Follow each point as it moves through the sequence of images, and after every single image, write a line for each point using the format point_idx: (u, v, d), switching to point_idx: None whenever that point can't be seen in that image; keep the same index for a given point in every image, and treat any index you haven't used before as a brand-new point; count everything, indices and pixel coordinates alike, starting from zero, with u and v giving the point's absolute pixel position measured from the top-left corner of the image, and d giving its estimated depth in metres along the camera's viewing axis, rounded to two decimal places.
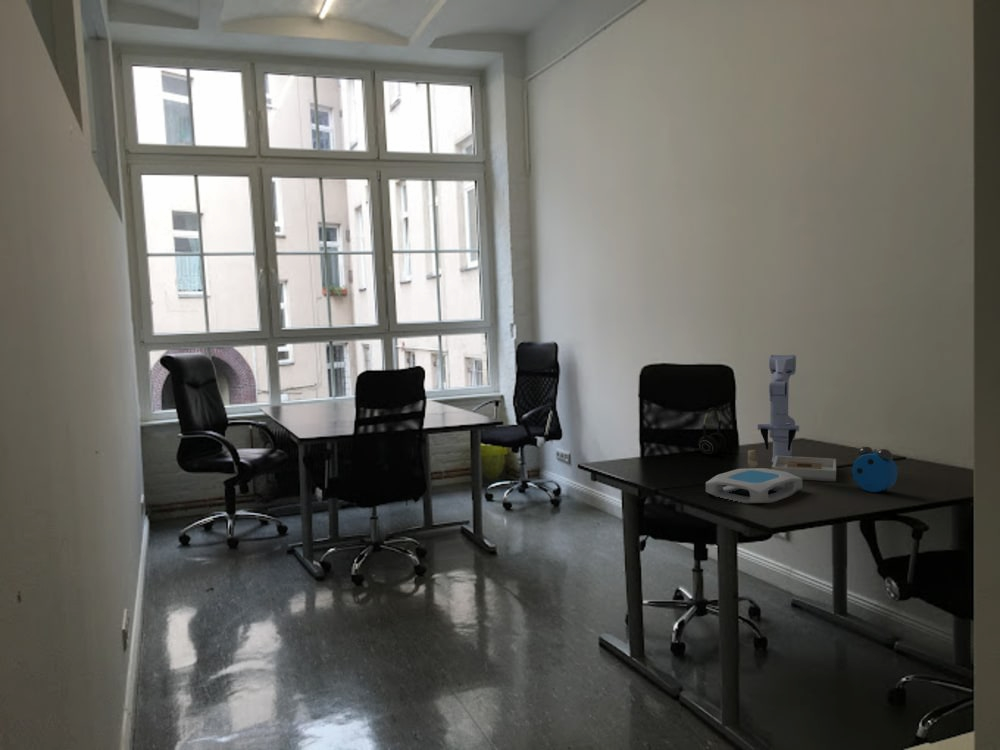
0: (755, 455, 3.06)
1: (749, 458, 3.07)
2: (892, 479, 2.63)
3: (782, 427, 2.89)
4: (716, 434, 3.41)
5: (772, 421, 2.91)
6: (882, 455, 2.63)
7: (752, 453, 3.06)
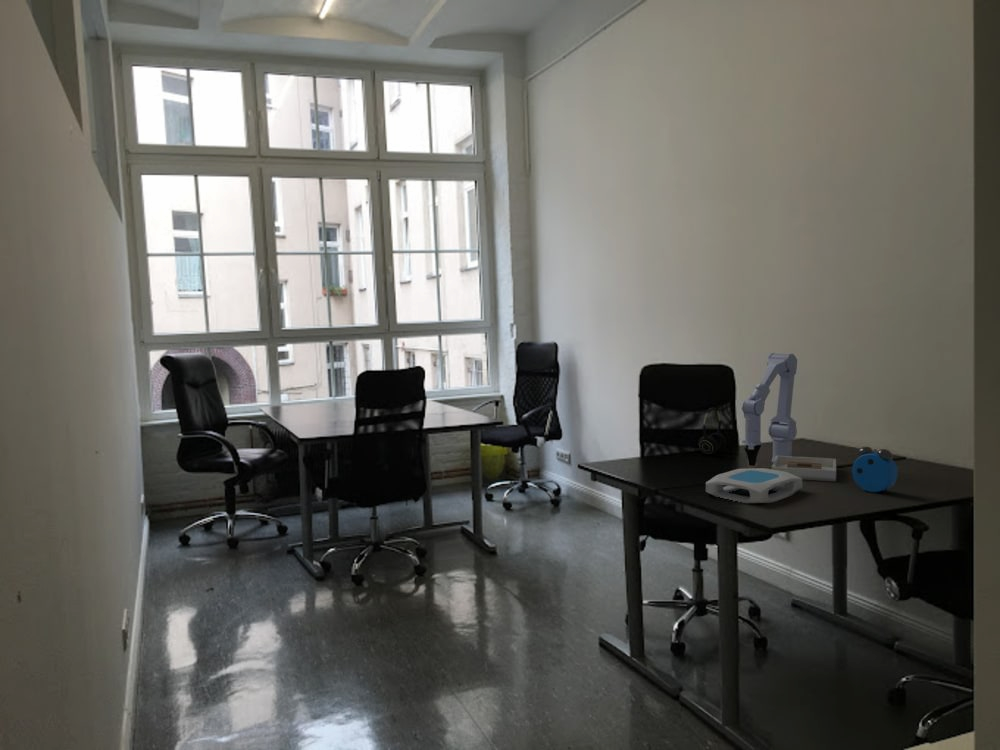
0: None
1: None
2: (892, 479, 2.63)
3: (745, 442, 3.07)
4: (716, 434, 3.41)
5: None
6: (882, 455, 2.63)
7: None
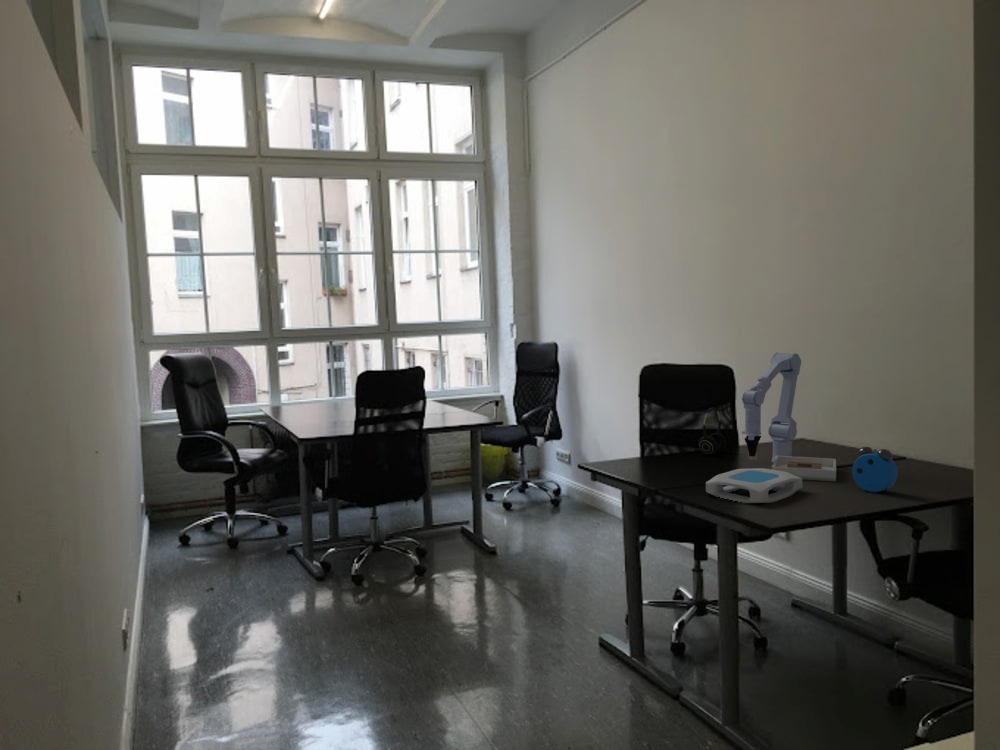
0: None
1: None
2: (892, 479, 2.63)
3: (745, 433, 3.06)
4: (716, 434, 3.41)
5: None
6: (882, 455, 2.63)
7: None
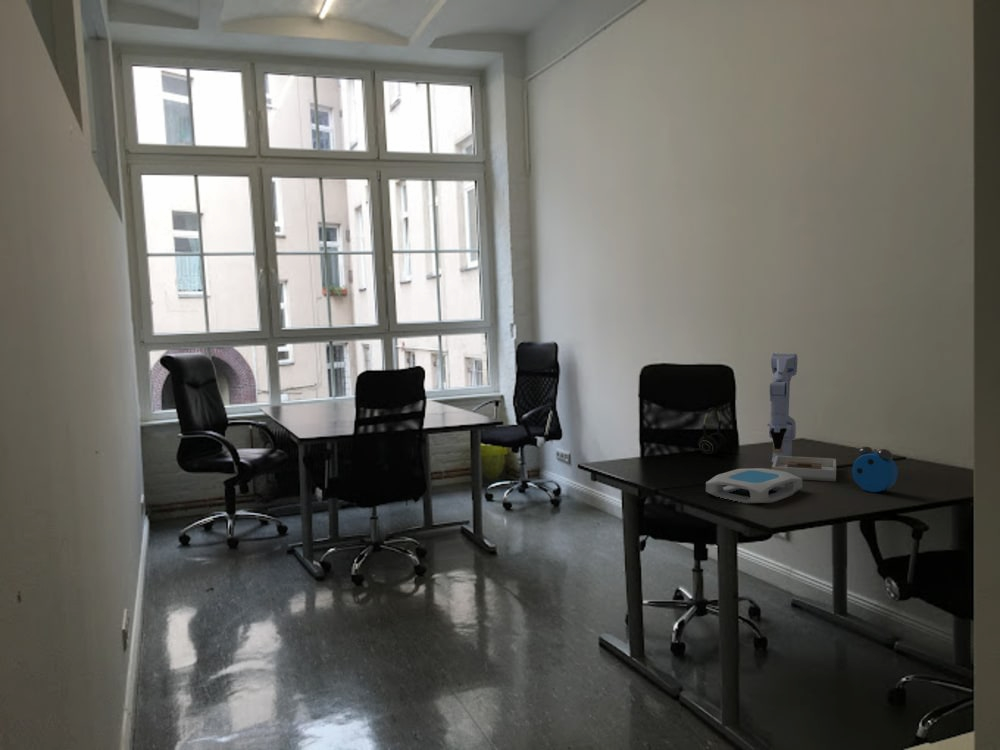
0: None
1: None
2: (892, 479, 2.63)
3: (770, 425, 3.01)
4: (716, 434, 3.41)
5: None
6: (882, 455, 2.63)
7: None
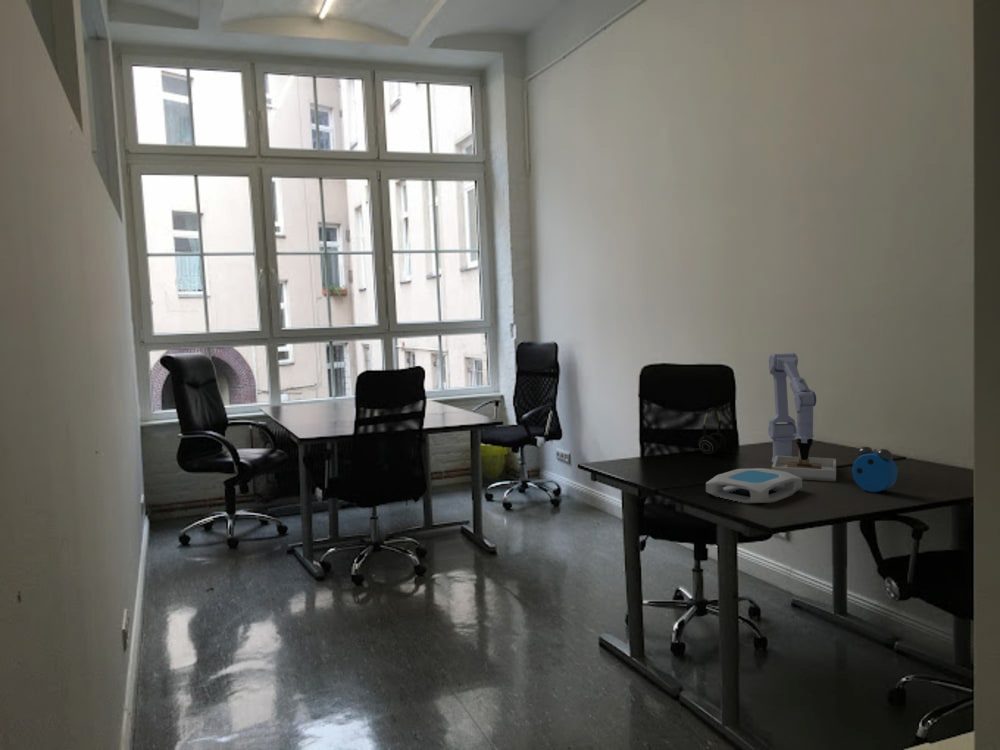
0: None
1: None
2: (892, 479, 2.63)
3: (797, 436, 2.96)
4: (716, 434, 3.41)
5: None
6: (882, 455, 2.63)
7: None
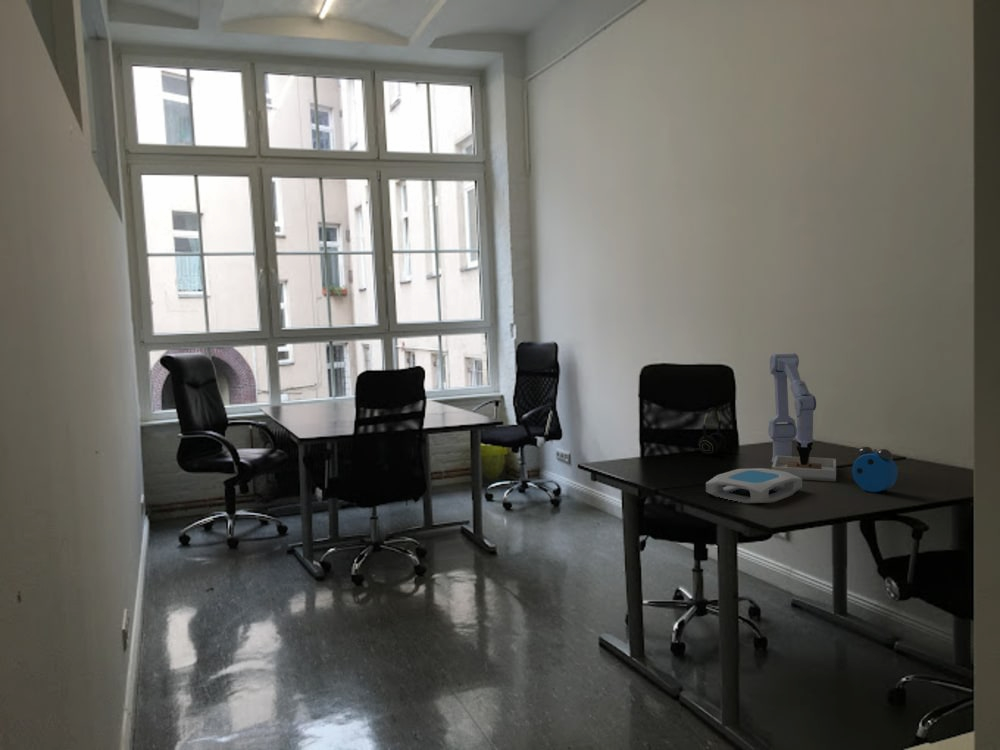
0: None
1: None
2: (892, 479, 2.63)
3: (797, 440, 2.96)
4: (716, 434, 3.41)
5: None
6: (882, 455, 2.63)
7: None
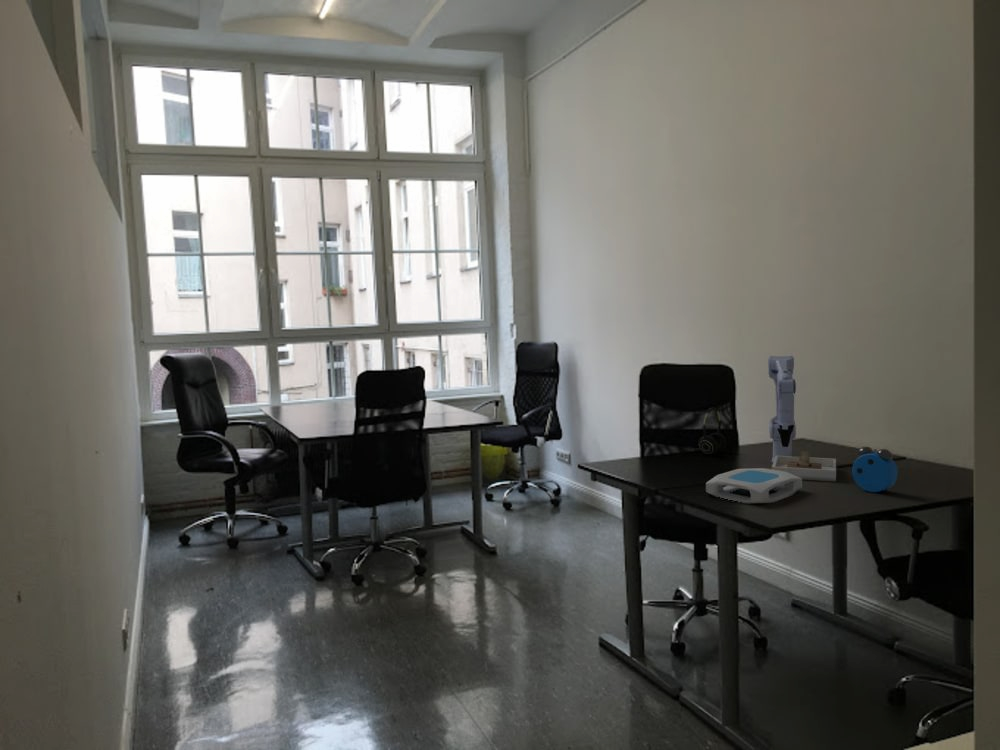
0: (807, 457, 2.96)
1: (800, 460, 2.97)
2: (892, 479, 2.63)
3: (778, 422, 3.04)
4: (716, 434, 3.41)
5: None
6: (882, 455, 2.63)
7: (804, 455, 2.96)
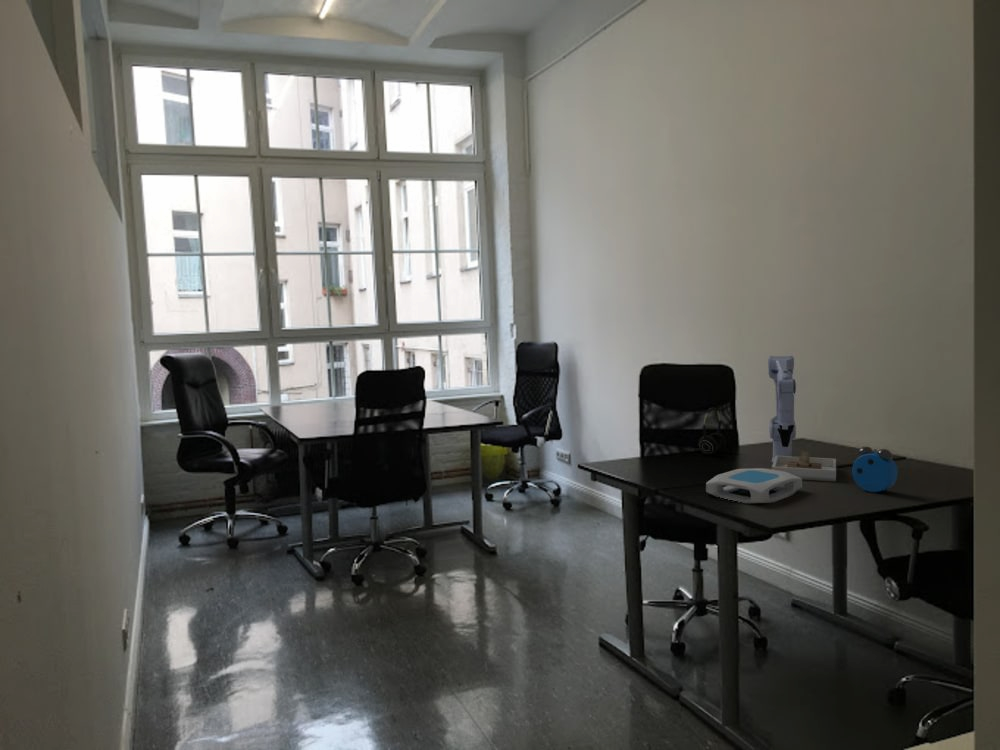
0: (807, 457, 2.96)
1: (800, 460, 2.97)
2: (892, 479, 2.63)
3: (778, 422, 3.04)
4: (716, 434, 3.41)
5: None
6: (882, 455, 2.63)
7: (804, 454, 2.96)
